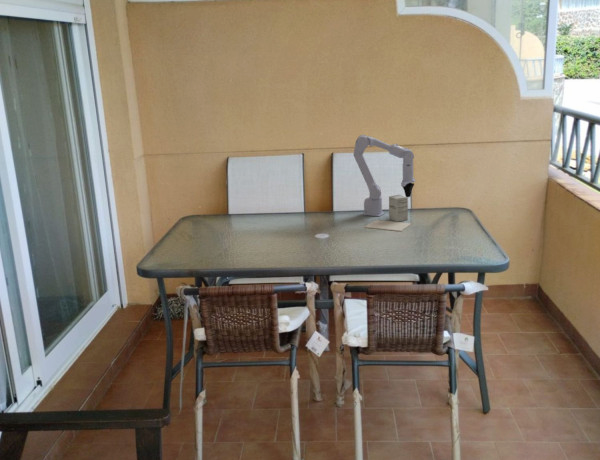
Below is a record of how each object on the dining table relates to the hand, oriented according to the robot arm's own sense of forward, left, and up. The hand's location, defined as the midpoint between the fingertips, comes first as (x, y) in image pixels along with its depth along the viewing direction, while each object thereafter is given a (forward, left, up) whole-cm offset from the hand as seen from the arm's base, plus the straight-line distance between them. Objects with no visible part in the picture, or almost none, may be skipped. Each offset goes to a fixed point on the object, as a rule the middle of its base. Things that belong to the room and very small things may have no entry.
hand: (408, 196), depth 327 cm
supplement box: (0, -14, -10) cm, 17 cm away
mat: (0, -27, -9) cm, 29 cm away
